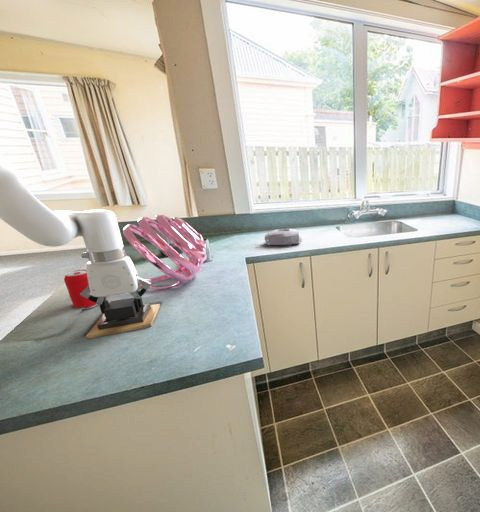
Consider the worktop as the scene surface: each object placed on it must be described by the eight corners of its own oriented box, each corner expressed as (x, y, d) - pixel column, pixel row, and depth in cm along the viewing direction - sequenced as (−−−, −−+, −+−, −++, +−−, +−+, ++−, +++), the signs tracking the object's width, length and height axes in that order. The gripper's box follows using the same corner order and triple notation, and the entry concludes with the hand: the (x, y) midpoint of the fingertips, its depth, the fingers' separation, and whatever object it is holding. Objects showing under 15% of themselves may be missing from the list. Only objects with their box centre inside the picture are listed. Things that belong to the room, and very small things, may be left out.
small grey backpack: (300, 238, 182) (265, 241, 176) (299, 225, 179) (264, 227, 173) (301, 245, 168) (263, 247, 162) (300, 231, 165) (261, 233, 160)
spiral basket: (73, 249, 90) (154, 195, 98) (112, 247, 116) (173, 204, 123) (150, 311, 99) (218, 257, 107) (170, 297, 125) (224, 254, 132)
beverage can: (98, 300, 101) (87, 267, 97) (103, 305, 97) (92, 271, 94) (72, 307, 96) (60, 273, 92) (77, 313, 93) (64, 277, 89)
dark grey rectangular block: (106, 321, 83) (103, 310, 82) (114, 311, 89) (111, 301, 88) (135, 316, 86) (132, 305, 85) (141, 307, 92) (138, 297, 91)
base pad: (87, 338, 79) (84, 330, 79) (105, 315, 91) (103, 308, 91) (151, 326, 86) (149, 319, 85) (160, 306, 97) (158, 299, 97)
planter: (210, 261, 140) (206, 240, 136) (199, 262, 138) (195, 241, 135) (212, 258, 144) (209, 238, 141) (202, 259, 142) (198, 239, 139)
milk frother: (168, 258, 144) (162, 228, 140) (146, 254, 149) (139, 225, 144) (195, 250, 157) (189, 222, 153) (173, 247, 162) (167, 220, 157)
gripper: (58, 263, 75) (79, 325, 80) (143, 254, 83) (157, 311, 88) (71, 255, 81) (90, 313, 87) (149, 247, 89) (162, 301, 94)
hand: (124, 311), depth 87 cm, fingers closed on dark grey rectangular block, 6 cm apart
